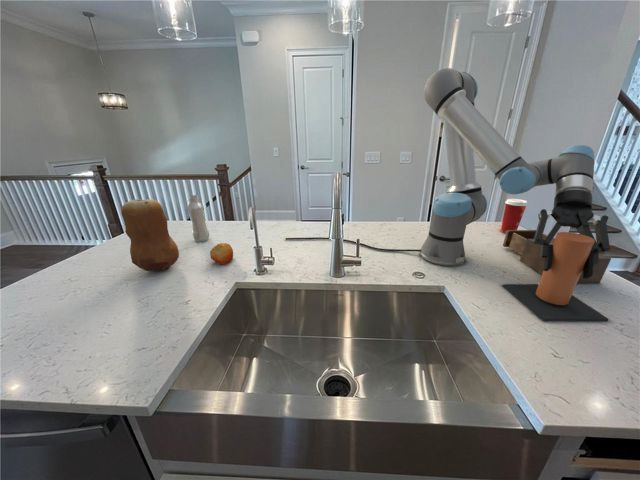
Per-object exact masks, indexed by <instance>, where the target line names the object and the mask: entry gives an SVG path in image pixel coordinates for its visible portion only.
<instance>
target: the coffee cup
mask: <svg viewBox="0 0 640 480" xmlns="http://www.w3.org/2000/svg"><path fill="white" fill-rule="evenodd" d="M504 203H505V205H504V211H503V215H502V221H501V225H500V232H501V233H502V234H505V232H506V231H507V230H519V229H518V228H519V226H520V223H521V221H522V218H523V215H524V213H525V210H526V207H527V206H528V201H527V200H525V199H519V198H507V199H506V201H505V202H504Z"/></svg>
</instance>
